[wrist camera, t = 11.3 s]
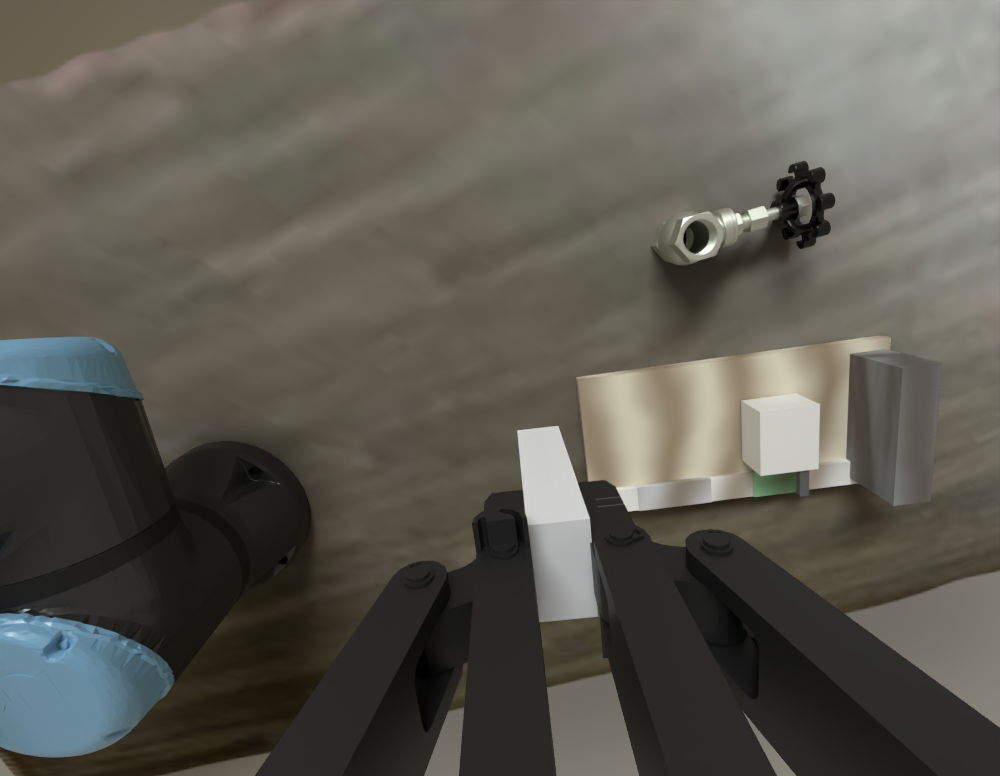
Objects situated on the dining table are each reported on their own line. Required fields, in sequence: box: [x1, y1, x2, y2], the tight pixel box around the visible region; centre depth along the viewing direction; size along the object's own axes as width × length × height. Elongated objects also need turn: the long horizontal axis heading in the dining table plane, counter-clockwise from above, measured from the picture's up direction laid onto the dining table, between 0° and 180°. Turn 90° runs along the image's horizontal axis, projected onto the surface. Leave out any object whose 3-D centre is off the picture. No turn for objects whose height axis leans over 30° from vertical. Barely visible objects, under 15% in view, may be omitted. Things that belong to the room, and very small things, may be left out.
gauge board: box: [576, 335, 942, 512], centre depth 43 cm, size 28×14×7 cm, turn 98°
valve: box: [651, 161, 835, 265], centre depth 39 cm, size 7×7×12 cm
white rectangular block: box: [741, 393, 820, 497], centre depth 44 cm, size 5×9×4 cm, turn 8°
